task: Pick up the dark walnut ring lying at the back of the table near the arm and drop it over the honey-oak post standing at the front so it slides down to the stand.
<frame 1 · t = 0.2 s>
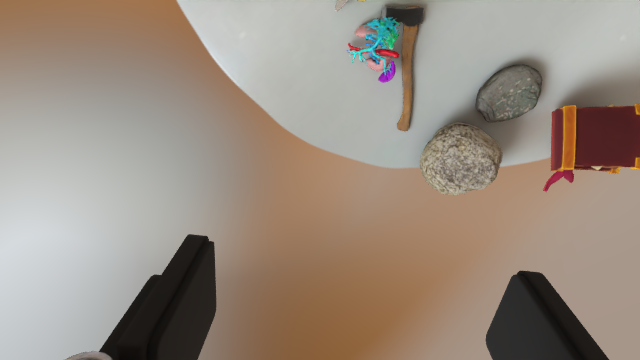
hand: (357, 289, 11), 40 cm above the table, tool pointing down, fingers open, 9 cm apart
axe: (378, 73, 47), on the table
book monster: (615, 144, 41), point 9 cm above the table
stone: (488, 134, 46), point 4 cm above the table
stone 2: (519, 83, 44), point 3 cm above the table
anatomy model: (348, 45, 45), on the table
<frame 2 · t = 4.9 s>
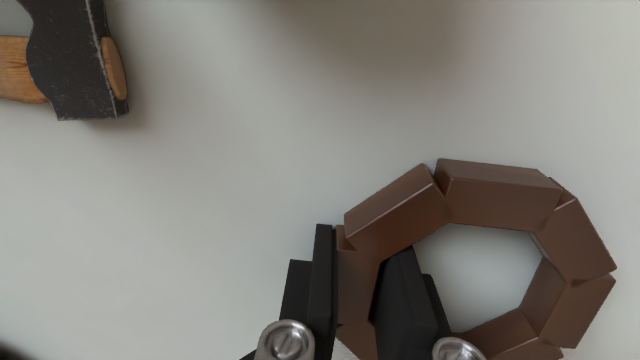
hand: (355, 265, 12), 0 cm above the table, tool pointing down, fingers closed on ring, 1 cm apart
ring: (450, 273, 12), on the table, touching gripper
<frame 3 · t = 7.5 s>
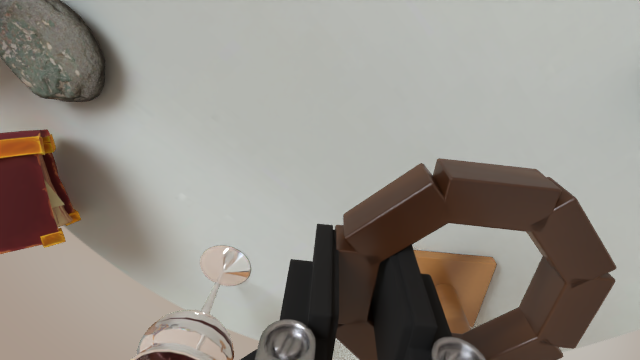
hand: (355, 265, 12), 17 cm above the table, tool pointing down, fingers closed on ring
wineglass: (225, 264, 35), on the table
stone 2: (50, 50, 23), point 3 cm above the table
goblet post: (439, 286, 35), on the table
ring: (450, 273, 12), point 17 cm above the table, touching gripper
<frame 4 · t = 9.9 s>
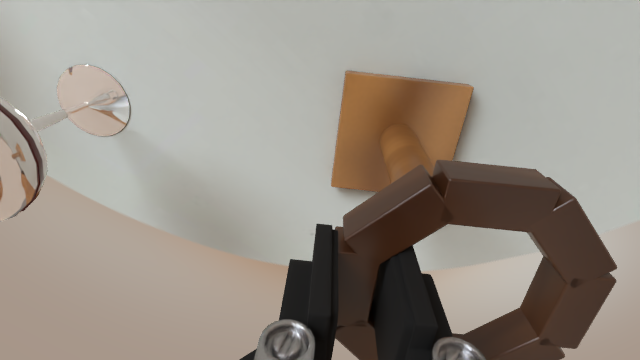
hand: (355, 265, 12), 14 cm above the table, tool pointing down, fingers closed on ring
wineglass: (95, 101, 25), on the table
goblet post: (395, 135, 25), on the table
ring: (450, 273, 12), point 14 cm above the table, touching gripper
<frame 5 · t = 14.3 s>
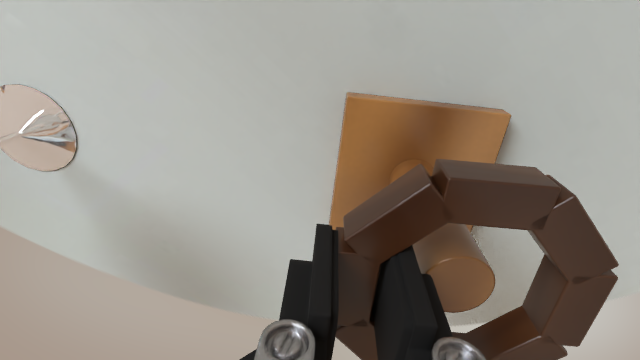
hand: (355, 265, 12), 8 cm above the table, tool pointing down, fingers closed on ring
wineglass: (33, 128, 20), on the table
goblet post: (408, 171, 20), on the table
ring: (451, 272, 12), point 8 cm above the table, touching gripper
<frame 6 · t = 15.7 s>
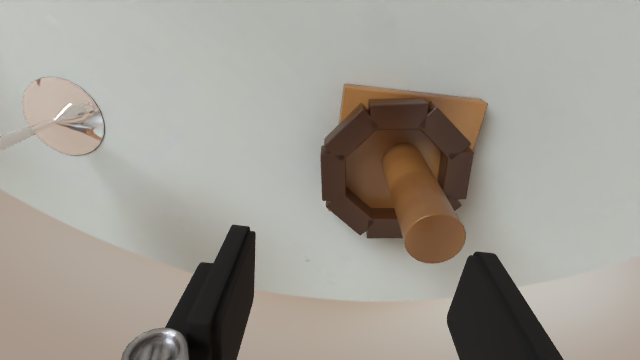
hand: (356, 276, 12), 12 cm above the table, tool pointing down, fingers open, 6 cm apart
wineglass: (65, 117, 22), on the table
goblet post: (399, 155, 22), on the table
ring: (391, 167, 22), point 1 cm above the table, touching goblet post
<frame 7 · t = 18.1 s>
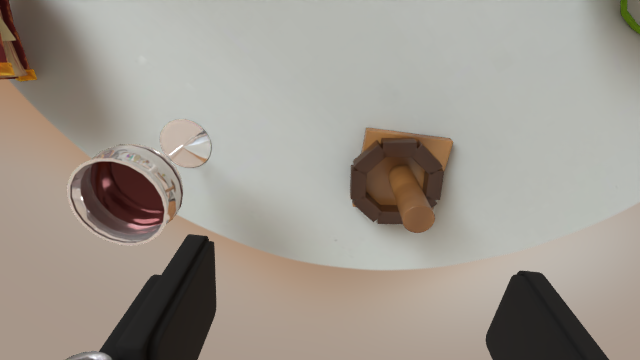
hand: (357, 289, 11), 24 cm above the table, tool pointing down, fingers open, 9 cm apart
wineglass: (186, 143, 35), on the table
goblet post: (398, 171, 35), on the table
ring: (394, 179, 34), point 1 cm above the table, touching goblet post
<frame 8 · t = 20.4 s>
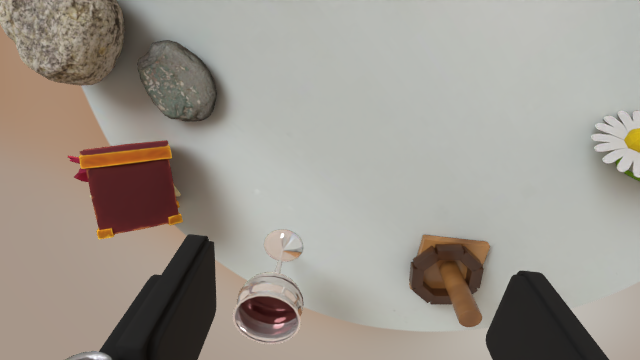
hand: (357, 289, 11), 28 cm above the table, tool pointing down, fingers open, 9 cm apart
book monster: (122, 203, 33), point 9 cm above the table
wineglass: (283, 244, 46), on the table
stone: (112, 59, 32), point 4 cm above the table
stone 2: (188, 88, 34), point 3 cm above the table
goblet post: (446, 263, 46), on the table
ring: (443, 271, 45), point 1 cm above the table, touching goblet post
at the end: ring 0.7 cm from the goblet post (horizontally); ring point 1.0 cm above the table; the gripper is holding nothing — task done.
